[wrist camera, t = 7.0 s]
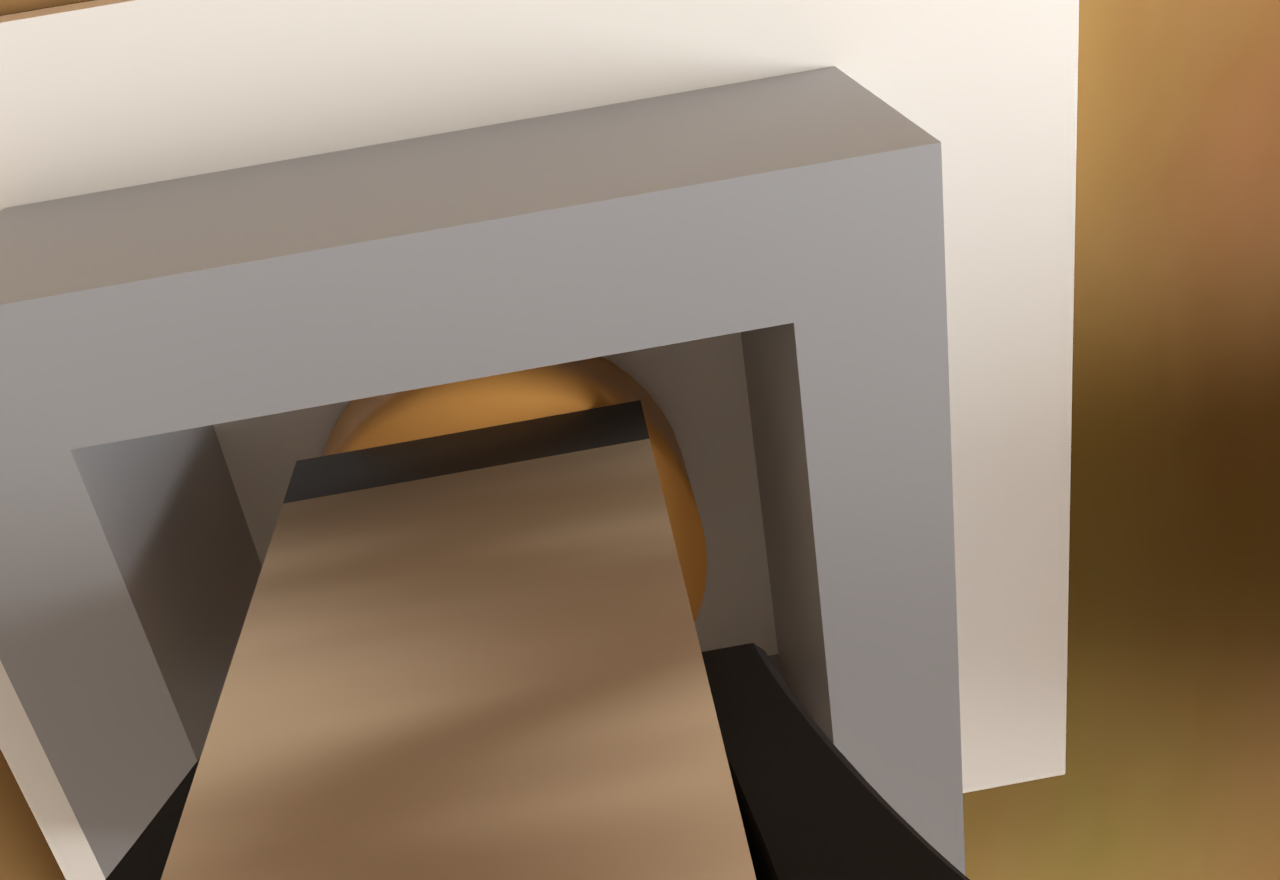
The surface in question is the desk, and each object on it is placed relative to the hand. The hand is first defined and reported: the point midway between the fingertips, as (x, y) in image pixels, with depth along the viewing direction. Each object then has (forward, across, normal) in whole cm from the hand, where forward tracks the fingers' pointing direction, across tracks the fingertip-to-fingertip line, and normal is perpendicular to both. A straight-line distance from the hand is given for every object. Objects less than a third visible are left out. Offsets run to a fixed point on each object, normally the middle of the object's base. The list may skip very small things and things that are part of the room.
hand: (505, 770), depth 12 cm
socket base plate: (+6, 0, 0) cm, 6 cm away
